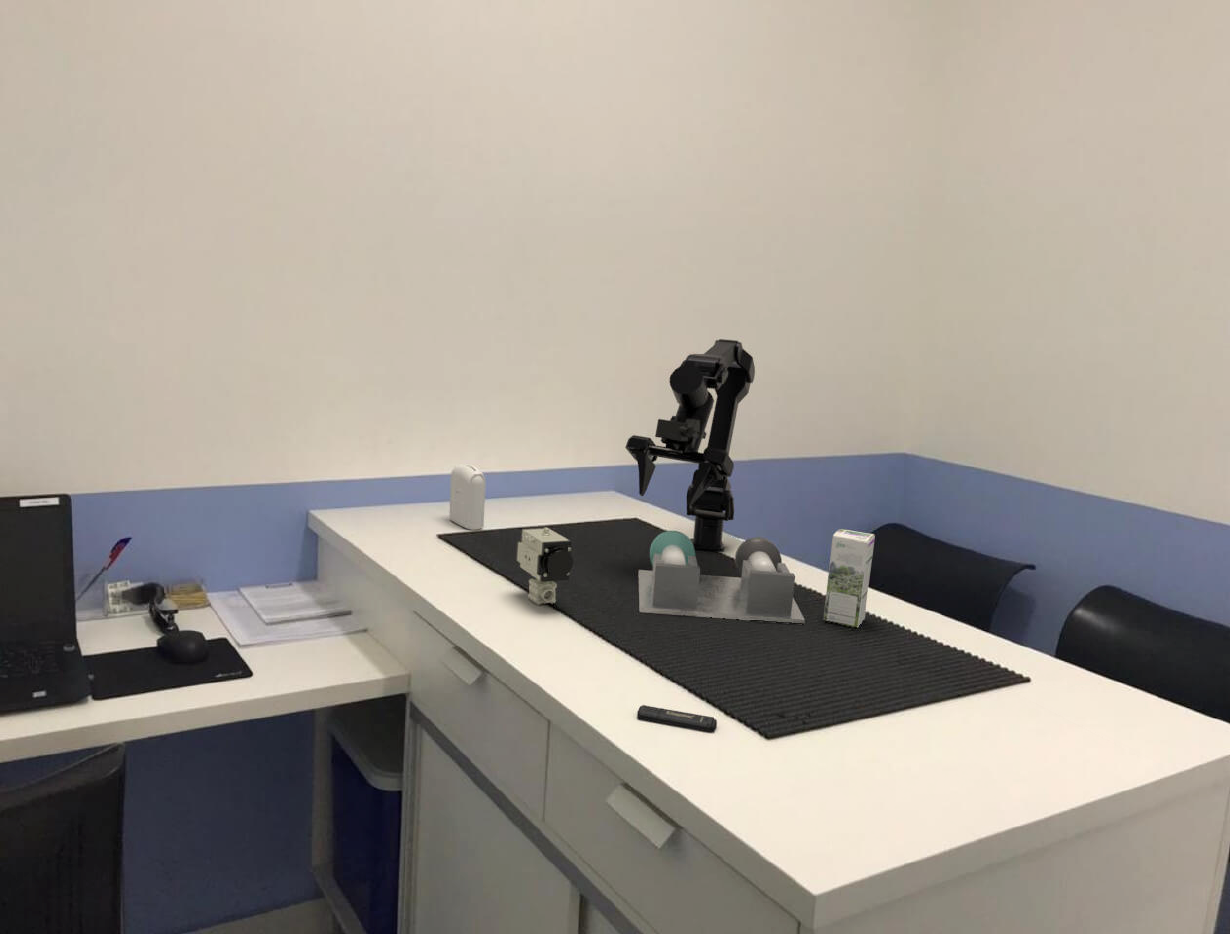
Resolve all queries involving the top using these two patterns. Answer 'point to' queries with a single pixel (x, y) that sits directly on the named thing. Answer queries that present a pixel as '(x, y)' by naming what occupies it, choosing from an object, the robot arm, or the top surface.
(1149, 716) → the top surface
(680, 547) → the teal knob
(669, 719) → the usb stick
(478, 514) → the photo printer
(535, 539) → the pneumatic valve
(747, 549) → the dark grey rounded piece
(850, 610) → the syrup box
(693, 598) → the mount
